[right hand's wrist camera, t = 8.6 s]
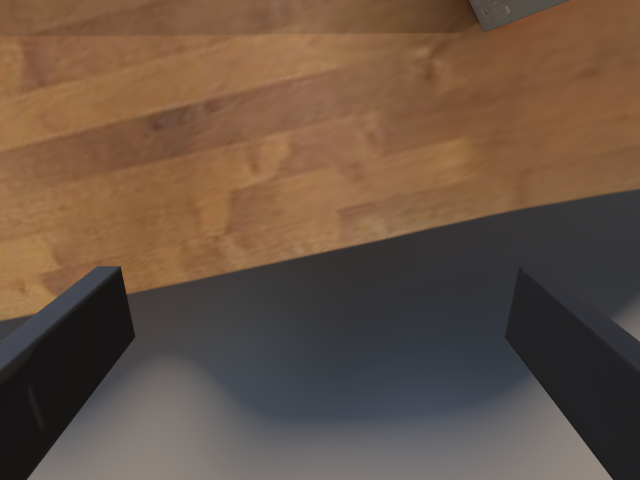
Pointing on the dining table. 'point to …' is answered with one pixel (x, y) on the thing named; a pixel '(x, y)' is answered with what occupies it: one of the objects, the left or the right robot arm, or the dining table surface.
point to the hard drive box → (507, 10)
